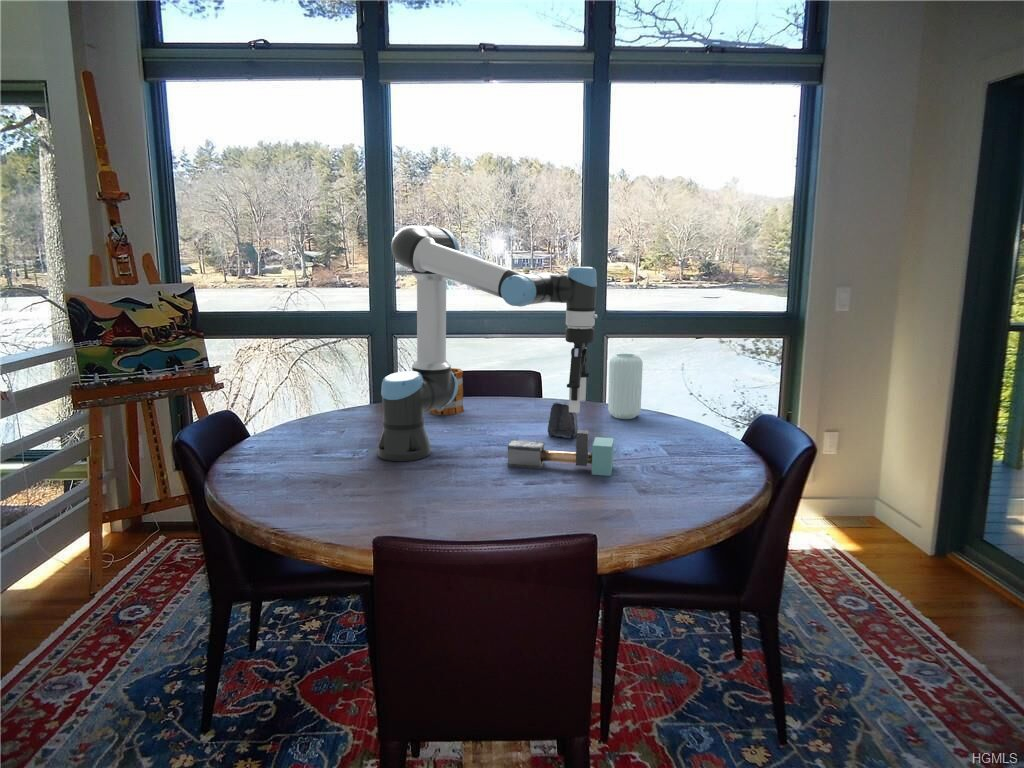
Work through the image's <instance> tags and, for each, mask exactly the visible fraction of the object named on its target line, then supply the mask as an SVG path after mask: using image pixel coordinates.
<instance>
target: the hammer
mask: <svg viewBox="0 0 1024 768" xmlns="http://www.w3.org/2000/svg"><path fill="white" fill-rule="evenodd" d="M575 437H576V438H575V439H576V445H575V451H563V450H560V451H559V450H549V449H544V450H541V461H544V462H548V463H549V462H551V463H552V462H553V463H562V464H563V463H564V464H565V463H567V464H575V466H580V467H581V466H582V467H588V465H591V466H592V452H589V450H590V449H589V447H590V446H589V445H590V430H584V429H578V431H577V433H576V435H575Z"/></svg>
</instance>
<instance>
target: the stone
mask: <svg viewBox="0 0 1024 768" xmlns="http://www.w3.org/2000/svg"><path fill="white" fill-rule="evenodd" d="M578 430H579V425H578V415H577V413H574V412H569V402H565V401H561V402H557V401H556V402H554V403H553V404H552V406H551V407H550V413H549V420H548V424H547V434H548V436H553V437H557V438H565V439H570V440H571V439H574V438H575V437H576V435H577V431H578Z"/></svg>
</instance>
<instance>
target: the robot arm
mask: <svg viewBox="0 0 1024 768" xmlns="http://www.w3.org/2000/svg"><path fill="white" fill-rule="evenodd" d="M390 247H391V253H392V256H393V258H394V259H395V261H396V262H397V263H398V264H399V265H401V266H402V267H405V268H407V269H411V275H412V276H413V277H414V278H415V279H416V326H417V327H416V351H417V353H416V360H415V362H414V363H413V364H412V365H411V366H412V367H411V369H412V370H404V371H400V372H399V371H398V372H393V373H390V374H389V375H387V376H385V377H384V378H383V379H382V382H381V390H380V395H381V408H382V411H381V412H382V432H381V435H380V439H379V442H378V446H377V456H378V458H380V459H381V460H382V459H383V460H386V461H392V462H411V461H416V460H417V461H418V460H421V459H424V458H426V457H428V456H429V455H431V452H432V450H431V443H430V441H429V437H428V435H427V432H426V429H425V421H424V420H425V419H424V415H425V414H424V413H427V412H429V411H431V410H434V409H438V408H442V407H444V406H445V405H447V404H449V403H450V402H451V401H452V400H453V399H454V398H455V396H456V394H457V390H458V382H457V379H456V377H455V376H454V373H453V372H452V371H451V368H452V365H451V364H450V363H449V362H448V361H447V280H448V279H449V280H451V281H455V282H458V283H460V284H463V285H466V286H467V287H471V288H474V289H477V290H479V291H482V292H485V293H487V294H490V295H493V296H496V297H499V298H501V299H503V300H504V302H505V303H506V304H508V305H509V306H512V307H520V308H521V307H526V306H530V305H535V304H536V305H538V304H543V303H545V304H546V303H555V304H556V303H558V304H566V309H565V325H566V326H567V327H566V328H565V338H564V339H565V342H567V343H569V344H573V347H572V348H571V351H570V355H571V356H570V357H571V358H570V369H569V378H568V379H569V380H568V383H566V388H568V389H569V390H568V392H569V395H568V397H569V398H568V403H569V412H574V413H576V414H580V411H581V409H580V408H581V402H586V398H587V397H586V395H587V394H586V393H587V378H589V377H590V372H589V373H588V352H589V351H588V350H589V349H588V344H592V343H594V342H595V332H596V331H595V328H594V326H595V325H596V323H595V321H596V320H595V319H598V314H595V313H596V305H597V304H596V303H597V287H598V283H597V270H596V268H595V267H592V266H569V267H568V268H567V272H566V273H562V274H561V273H549V272H548V273H547V272H545V273H543V272H532V273H531V272H530V273H528V274H526V273H524V272H523V273H522V272H519V271H517V270H513V269H510V268H509V267H506V266H502V265H499V264H496V263H493V262H491V261H487V260H485V259H483V258H479V257H476V256H474V255H470V254H468V253H465V252H462V251H460V246H459V243H458V240H457V238H456V236H455V235H454V234H453V233H452V232H451V231H450V230H448V229H446V228H443V227H439V226H434V225H433V226H426V225H425V226H423V225H407V226H405V227H402V228H400V229H399V230H398V231H397V232H396V233H395V234H394V236H393V237H392V241H391V246H390Z"/></svg>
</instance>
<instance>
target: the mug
mask: <svg viewBox="0 0 1024 768" xmlns="http://www.w3.org/2000/svg"><path fill="white" fill-rule="evenodd" d="M451 371H452V372H453V373H454V376H455V377H456V379H457V382H458V390H457V394H456V396H455V398H454V399H453V400H452V401H451V402H450V403H449V404H447V405H445V406H444V407H442V408H438V409H434V410H431V411H428V412H429V414H432V415H439V416H448V415H449V416H451V415H458V414H461V413H463V412H464V411H465V410H464V409H465V408H464V384H463V383H464V382H463V379H464V378H463V376H464V371H463V370H462V369H461V368H453V367H451Z"/></svg>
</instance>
